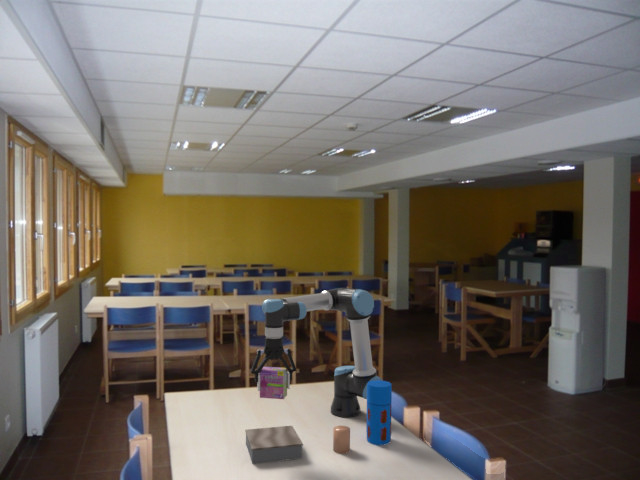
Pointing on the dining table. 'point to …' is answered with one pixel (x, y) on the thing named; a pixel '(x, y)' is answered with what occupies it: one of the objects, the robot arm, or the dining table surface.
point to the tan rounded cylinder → (341, 439)
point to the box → (273, 382)
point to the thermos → (379, 412)
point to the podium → (273, 444)
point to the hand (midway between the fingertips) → (273, 389)
